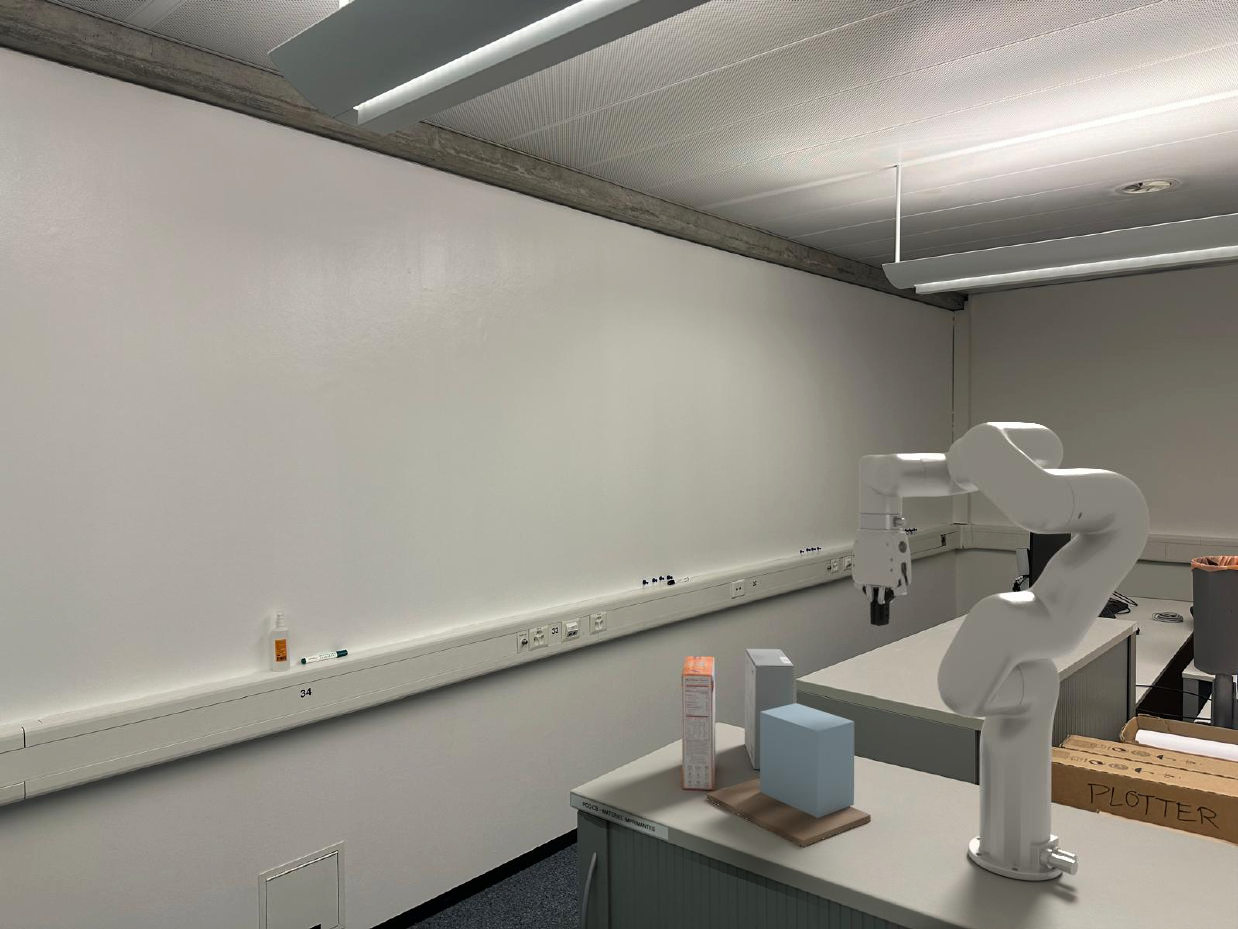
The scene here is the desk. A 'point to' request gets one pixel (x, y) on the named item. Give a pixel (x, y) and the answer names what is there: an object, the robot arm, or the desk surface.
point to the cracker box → (698, 723)
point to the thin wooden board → (785, 814)
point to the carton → (807, 759)
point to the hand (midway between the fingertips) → (879, 624)
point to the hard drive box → (764, 692)
